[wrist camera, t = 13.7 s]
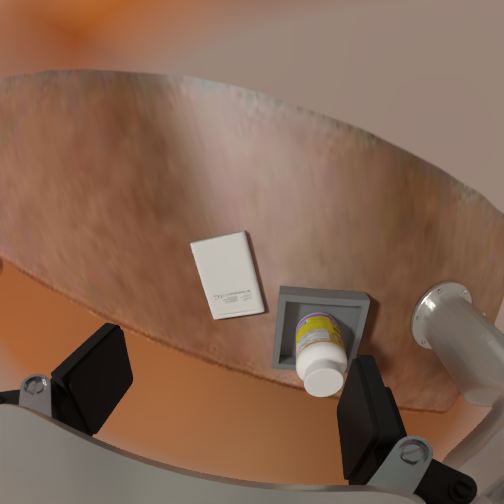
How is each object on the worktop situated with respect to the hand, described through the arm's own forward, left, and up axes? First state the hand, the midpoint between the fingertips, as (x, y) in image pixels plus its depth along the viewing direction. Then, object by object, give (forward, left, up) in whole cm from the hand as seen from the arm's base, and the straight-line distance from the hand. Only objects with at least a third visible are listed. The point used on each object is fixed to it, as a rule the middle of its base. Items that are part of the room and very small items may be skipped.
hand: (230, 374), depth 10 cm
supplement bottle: (-8, +15, -30) cm, 34 cm away
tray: (-8, +15, -30) cm, 35 cm away
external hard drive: (+6, +8, -31) cm, 33 cm away
